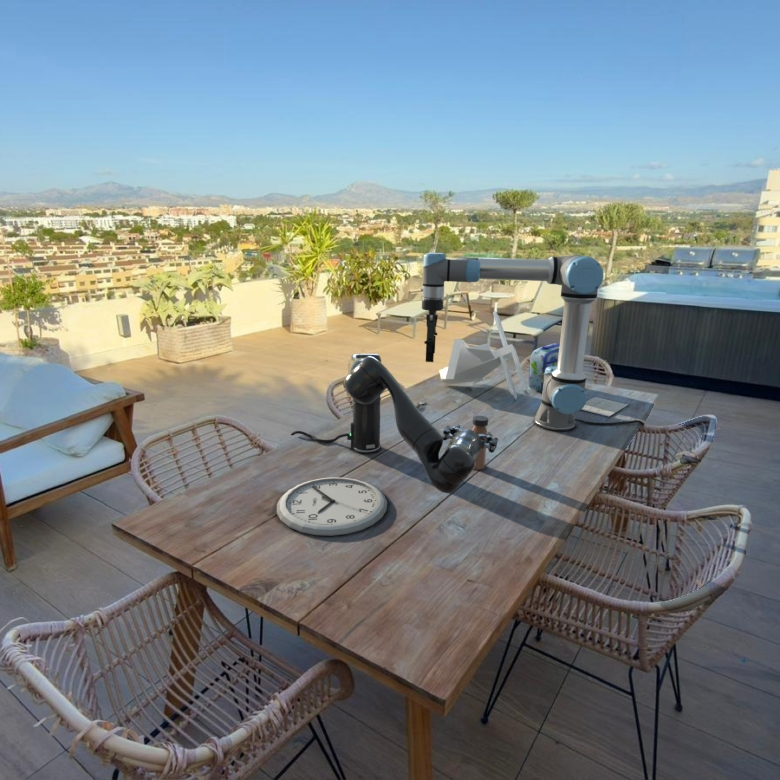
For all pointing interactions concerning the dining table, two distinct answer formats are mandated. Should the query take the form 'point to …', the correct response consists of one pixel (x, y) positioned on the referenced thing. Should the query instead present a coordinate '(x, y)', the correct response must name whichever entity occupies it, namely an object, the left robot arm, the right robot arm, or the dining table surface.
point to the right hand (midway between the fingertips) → (430, 357)
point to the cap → (480, 421)
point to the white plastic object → (482, 362)
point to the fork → (421, 403)
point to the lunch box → (542, 364)
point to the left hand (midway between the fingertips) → (473, 431)
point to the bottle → (482, 454)
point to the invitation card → (603, 406)
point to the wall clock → (331, 506)
